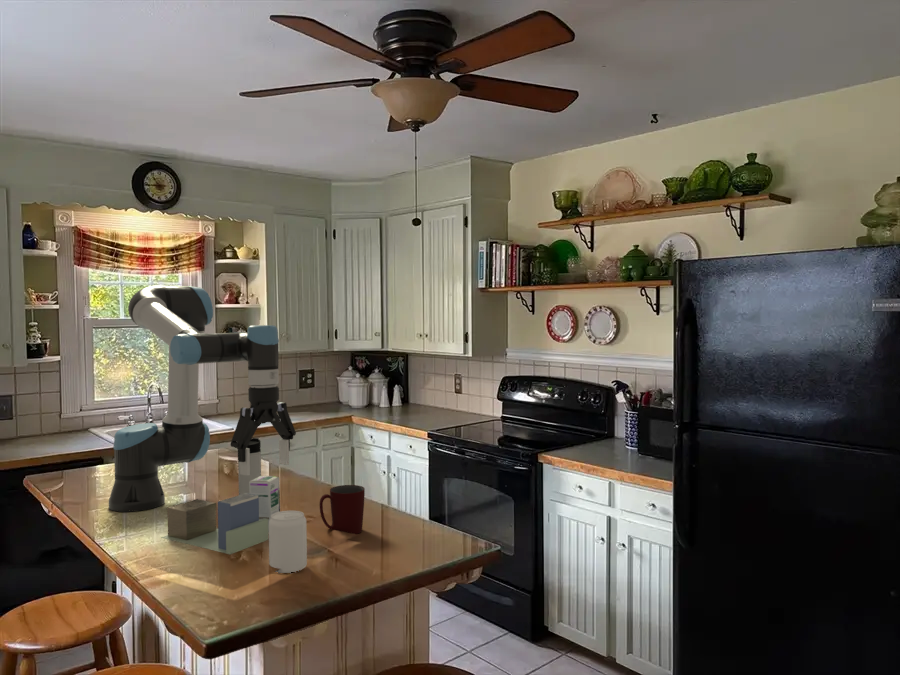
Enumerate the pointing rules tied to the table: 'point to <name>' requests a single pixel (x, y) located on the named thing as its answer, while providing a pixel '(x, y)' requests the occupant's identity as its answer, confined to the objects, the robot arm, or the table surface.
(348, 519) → the mug
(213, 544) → the pale green slab
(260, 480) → the syrup box
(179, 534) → the bookend
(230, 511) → the book block
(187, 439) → the robot arm
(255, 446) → the travel mug
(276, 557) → the beverage can
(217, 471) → the table surface
